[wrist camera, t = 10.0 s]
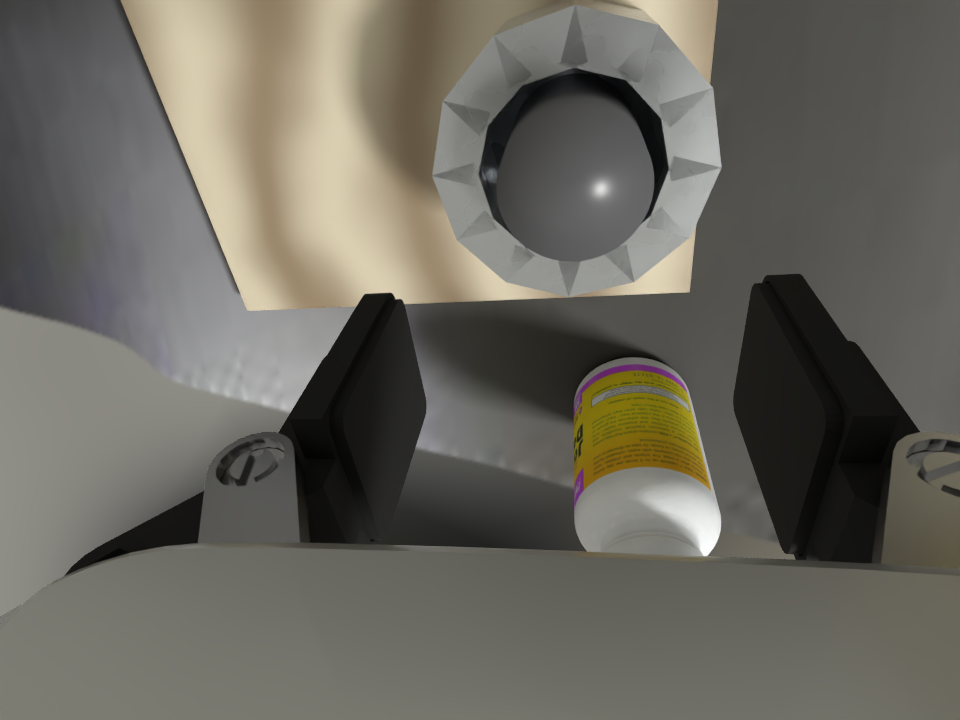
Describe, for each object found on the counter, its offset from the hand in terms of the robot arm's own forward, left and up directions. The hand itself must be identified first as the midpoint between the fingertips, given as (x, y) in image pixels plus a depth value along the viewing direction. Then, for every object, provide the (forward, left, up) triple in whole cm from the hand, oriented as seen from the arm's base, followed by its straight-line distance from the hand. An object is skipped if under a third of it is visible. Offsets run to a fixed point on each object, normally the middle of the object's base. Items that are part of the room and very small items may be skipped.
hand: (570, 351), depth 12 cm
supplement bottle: (+8, +14, -18) cm, 24 cm away
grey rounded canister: (0, 0, -15) cm, 15 cm away
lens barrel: (0, 0, -16) cm, 16 cm away
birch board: (+5, -4, -18) cm, 19 cm away
